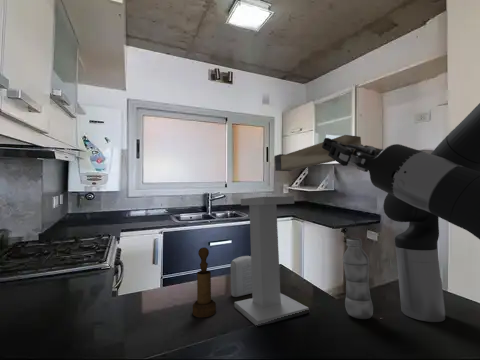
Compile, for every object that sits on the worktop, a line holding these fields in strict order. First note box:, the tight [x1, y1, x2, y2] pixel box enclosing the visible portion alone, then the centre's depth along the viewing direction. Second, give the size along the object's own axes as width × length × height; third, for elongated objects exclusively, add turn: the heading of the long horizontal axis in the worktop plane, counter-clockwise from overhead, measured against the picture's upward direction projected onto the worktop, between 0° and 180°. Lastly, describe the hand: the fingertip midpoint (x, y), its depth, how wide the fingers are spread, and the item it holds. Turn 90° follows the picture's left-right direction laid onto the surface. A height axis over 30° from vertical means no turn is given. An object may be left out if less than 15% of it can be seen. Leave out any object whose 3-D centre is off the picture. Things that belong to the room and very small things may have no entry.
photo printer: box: [230, 255, 252, 298], centre depth 85 cm, size 10×4×12 cm, turn 124°
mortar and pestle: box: [192, 247, 217, 318], centre depth 71 cm, size 7×6×18 cm
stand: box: [234, 196, 310, 326], centre depth 72 cm, size 16×14×32 cm
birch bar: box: [274, 134, 362, 172], centre depth 56 cm, size 4×23×4 cm, turn 25°
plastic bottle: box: [341, 237, 374, 320], centre depth 65 cm, size 6×7×20 cm
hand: (333, 143), depth 50 cm, fingers closed on birch bar, 4 cm apart
